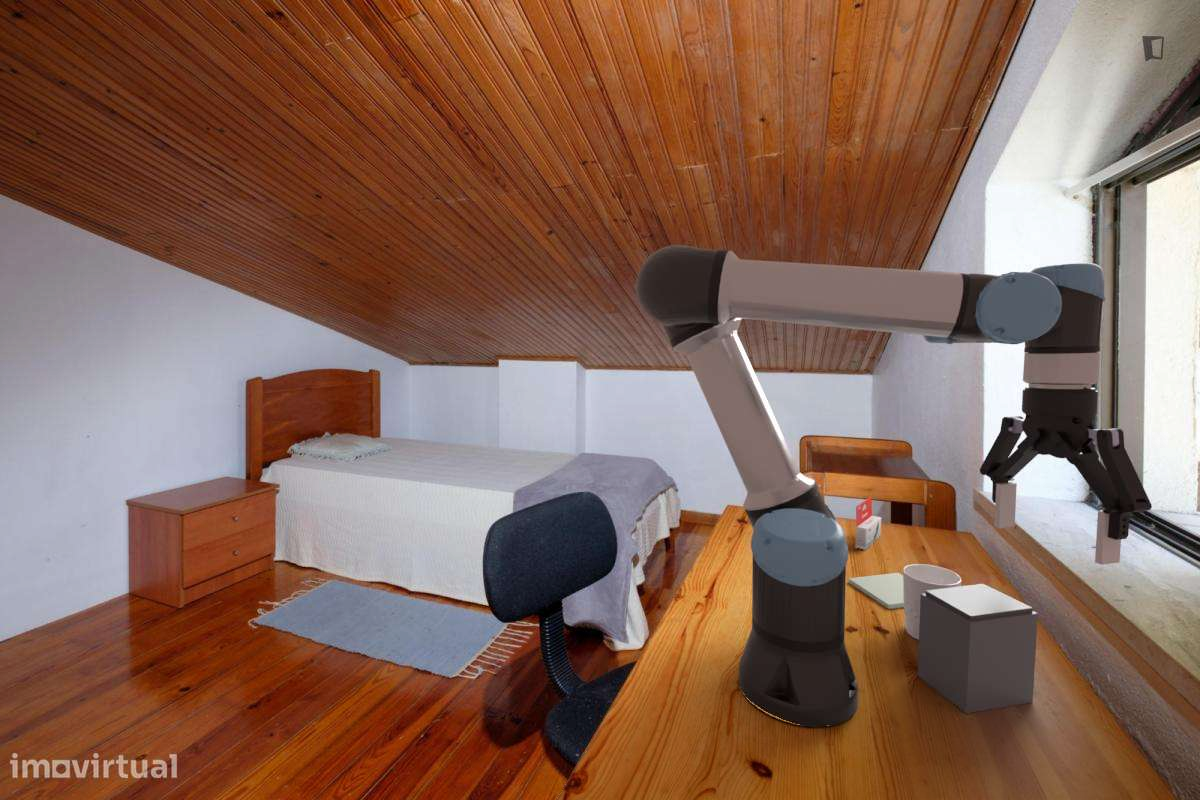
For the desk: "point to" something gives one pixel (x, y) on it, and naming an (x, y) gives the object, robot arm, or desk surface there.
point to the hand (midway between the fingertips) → (1051, 543)
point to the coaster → (882, 588)
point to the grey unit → (977, 647)
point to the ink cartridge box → (866, 525)
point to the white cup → (922, 590)
